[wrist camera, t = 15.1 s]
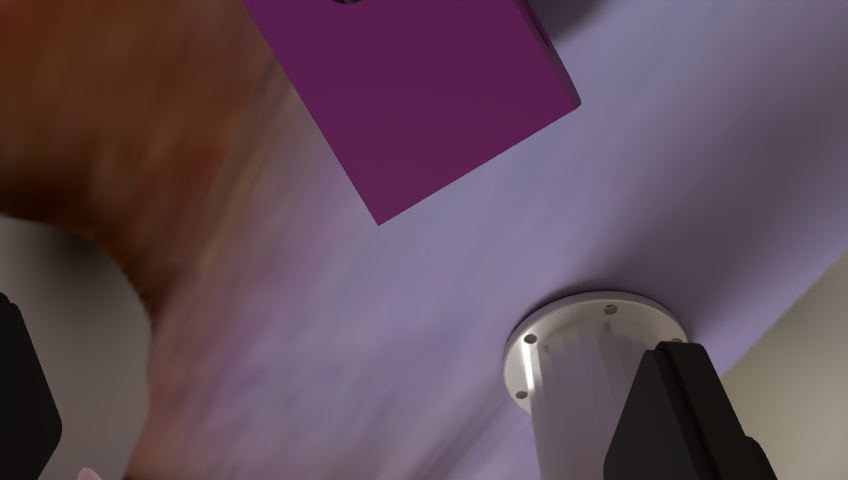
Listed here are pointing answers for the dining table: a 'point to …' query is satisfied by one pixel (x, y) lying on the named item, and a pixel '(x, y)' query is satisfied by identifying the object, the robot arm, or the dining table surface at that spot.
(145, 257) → the dining table surface
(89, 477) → the lily
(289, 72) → the mounting bracket
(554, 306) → the robot arm
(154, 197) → the dining table surface
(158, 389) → the dining table surface
